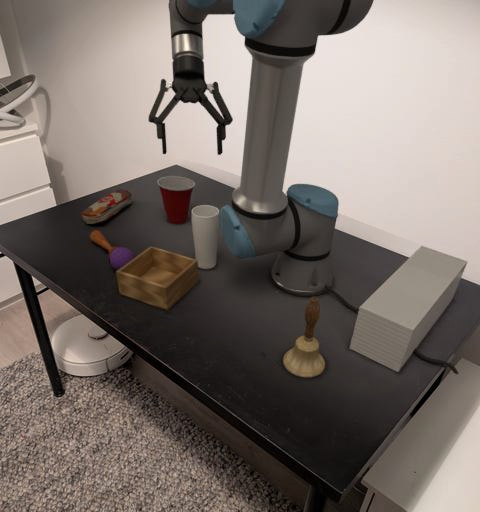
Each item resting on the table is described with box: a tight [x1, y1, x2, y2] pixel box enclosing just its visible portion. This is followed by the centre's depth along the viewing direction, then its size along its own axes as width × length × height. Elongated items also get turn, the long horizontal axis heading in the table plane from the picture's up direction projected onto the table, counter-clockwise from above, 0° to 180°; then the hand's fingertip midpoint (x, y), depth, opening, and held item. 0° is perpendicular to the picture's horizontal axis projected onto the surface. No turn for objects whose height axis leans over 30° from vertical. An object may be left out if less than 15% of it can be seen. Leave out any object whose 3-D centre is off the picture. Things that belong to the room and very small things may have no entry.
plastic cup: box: [156, 175, 196, 225], centre depth 133 cm, size 11×11×12 cm
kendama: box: [89, 230, 135, 271], centre depth 117 cm, size 6×6×20 cm
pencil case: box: [80, 188, 133, 225], centre depth 136 cm, size 11×20×5 cm, turn 145°
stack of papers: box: [349, 245, 468, 373], centre depth 98 cm, size 32×11×11 cm, turn 142°
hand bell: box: [282, 296, 326, 379], centre depth 85 cm, size 8×8×16 cm
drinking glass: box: [190, 204, 221, 270], centre depth 112 cm, size 7×7×15 cm
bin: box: [115, 245, 199, 311], centre depth 106 cm, size 13×13×6 cm
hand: (192, 153), depth 111 cm, fingers open, 13 cm apart
